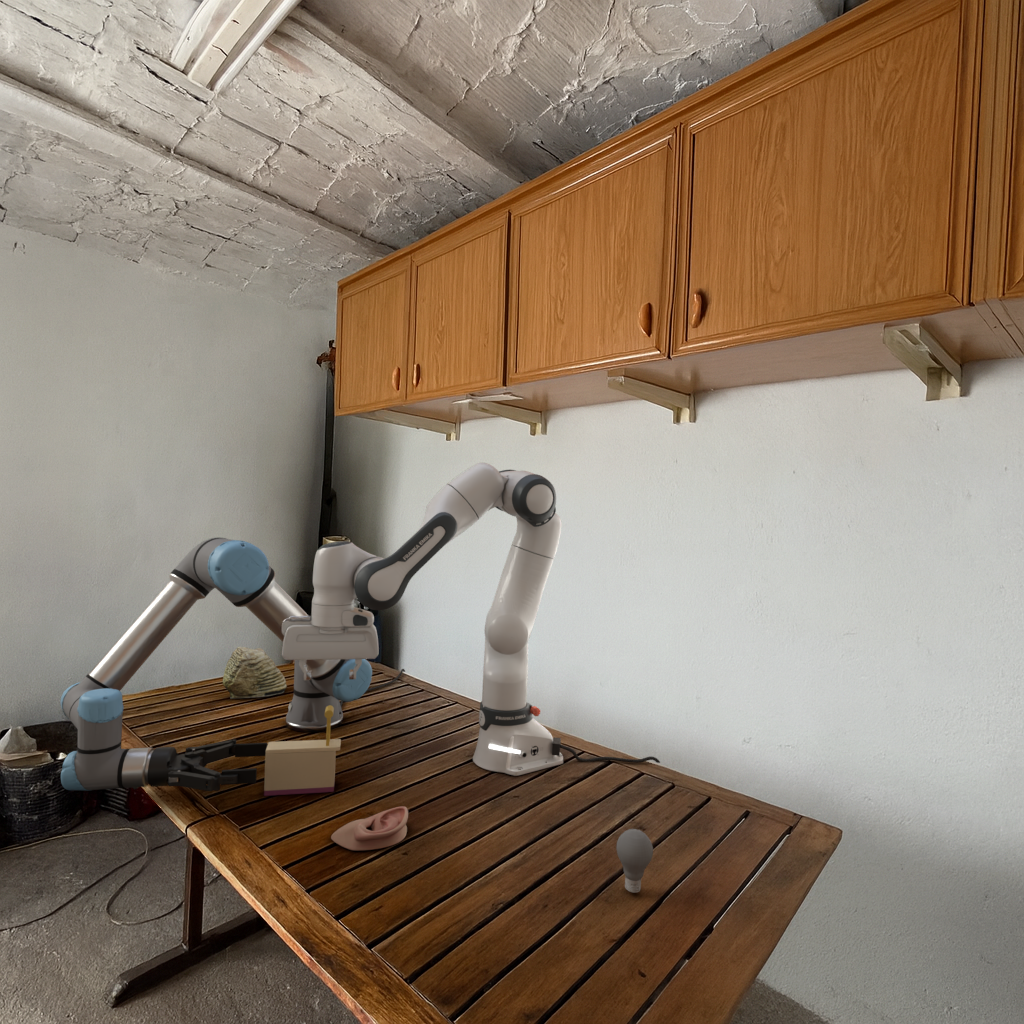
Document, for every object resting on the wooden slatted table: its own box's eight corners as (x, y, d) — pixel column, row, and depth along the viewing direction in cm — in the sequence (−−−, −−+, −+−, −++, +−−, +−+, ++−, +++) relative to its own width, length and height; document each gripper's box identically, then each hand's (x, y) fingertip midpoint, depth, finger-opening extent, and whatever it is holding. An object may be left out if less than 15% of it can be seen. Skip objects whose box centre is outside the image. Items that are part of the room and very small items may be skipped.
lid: (340, 742, 141) (342, 703, 141) (340, 750, 136) (341, 710, 136) (268, 745, 137) (270, 706, 137) (265, 754, 133) (267, 713, 133)
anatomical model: (323, 824, 115) (352, 795, 126) (322, 845, 115) (351, 815, 126) (392, 835, 112) (415, 805, 123) (391, 857, 112) (414, 825, 123)
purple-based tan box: (334, 782, 141) (336, 743, 141) (333, 791, 136) (335, 751, 136) (267, 786, 138) (268, 745, 137) (263, 795, 133) (265, 754, 133)
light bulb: (610, 879, 108) (613, 822, 108) (644, 879, 109) (647, 822, 109) (619, 902, 102) (622, 840, 102) (655, 901, 103) (658, 840, 103)
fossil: (218, 695, 195) (220, 647, 195) (278, 685, 208) (279, 640, 207) (228, 703, 189) (230, 653, 188) (289, 692, 201) (290, 645, 201)
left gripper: (169, 760, 142) (269, 755, 147) (129, 815, 118) (250, 807, 123) (170, 727, 142) (270, 723, 147) (130, 775, 118) (252, 769, 123)
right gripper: (280, 618, 132) (277, 684, 132) (380, 618, 137) (377, 682, 137) (283, 613, 138) (281, 676, 138) (379, 613, 143) (377, 674, 143)
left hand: (261, 761), depth 135 cm, fingers open, 13 cm apart
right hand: (330, 679), depth 138 cm, fingers open, 8 cm apart
